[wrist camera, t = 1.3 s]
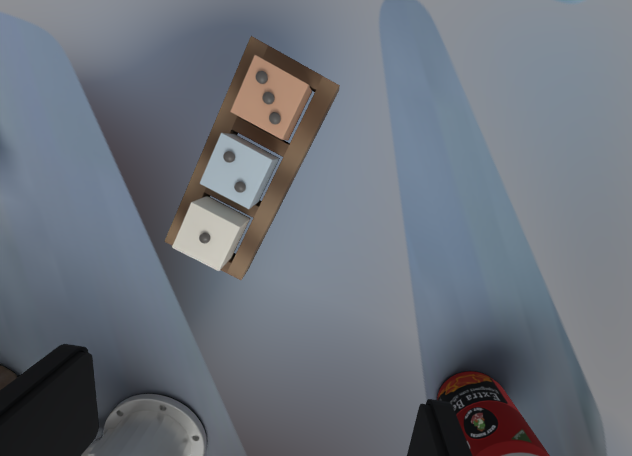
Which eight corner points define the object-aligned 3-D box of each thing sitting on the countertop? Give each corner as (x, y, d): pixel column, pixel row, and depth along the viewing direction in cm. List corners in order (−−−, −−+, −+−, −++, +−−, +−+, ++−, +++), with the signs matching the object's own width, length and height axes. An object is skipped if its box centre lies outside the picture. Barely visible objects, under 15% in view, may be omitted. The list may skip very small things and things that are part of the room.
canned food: (485, 358, 36) (548, 446, 26) (515, 411, 38) (585, 516, 27) (422, 386, 38) (456, 481, 27) (452, 436, 39) (496, 546, 28)
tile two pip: (258, 202, 31) (247, 209, 28) (214, 179, 31) (198, 183, 27) (279, 158, 30) (271, 160, 27) (234, 134, 30) (220, 132, 26)
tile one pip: (231, 257, 33) (217, 272, 29) (189, 236, 33) (170, 248, 29) (250, 218, 32) (239, 228, 28) (207, 195, 32) (189, 202, 28)
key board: (247, 271, 35) (241, 280, 33) (175, 235, 35) (164, 241, 33) (339, 89, 30) (339, 85, 28) (257, 44, 30) (251, 35, 28)
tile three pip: (288, 140, 30) (281, 139, 26) (242, 115, 30) (229, 111, 26) (311, 91, 29) (308, 84, 25) (264, 65, 28) (253, 53, 25)
